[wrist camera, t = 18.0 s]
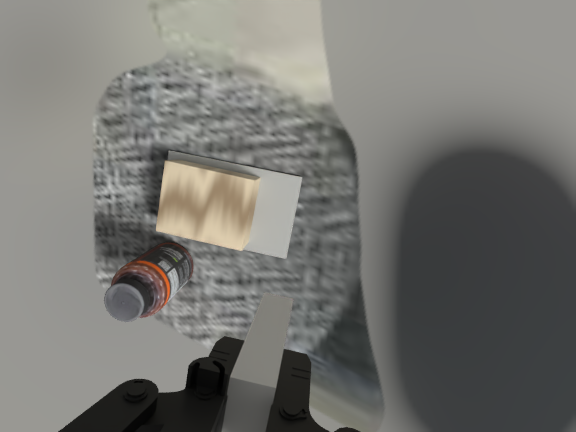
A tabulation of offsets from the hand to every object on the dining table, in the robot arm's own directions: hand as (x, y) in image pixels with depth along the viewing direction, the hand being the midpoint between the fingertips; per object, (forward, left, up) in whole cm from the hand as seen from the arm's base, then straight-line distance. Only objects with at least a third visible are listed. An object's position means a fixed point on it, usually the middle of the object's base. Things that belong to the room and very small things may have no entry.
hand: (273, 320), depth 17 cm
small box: (0, -6, -22) cm, 23 cm away
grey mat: (0, -9, -24) cm, 26 cm away
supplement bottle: (+9, -15, -25) cm, 30 cm away
